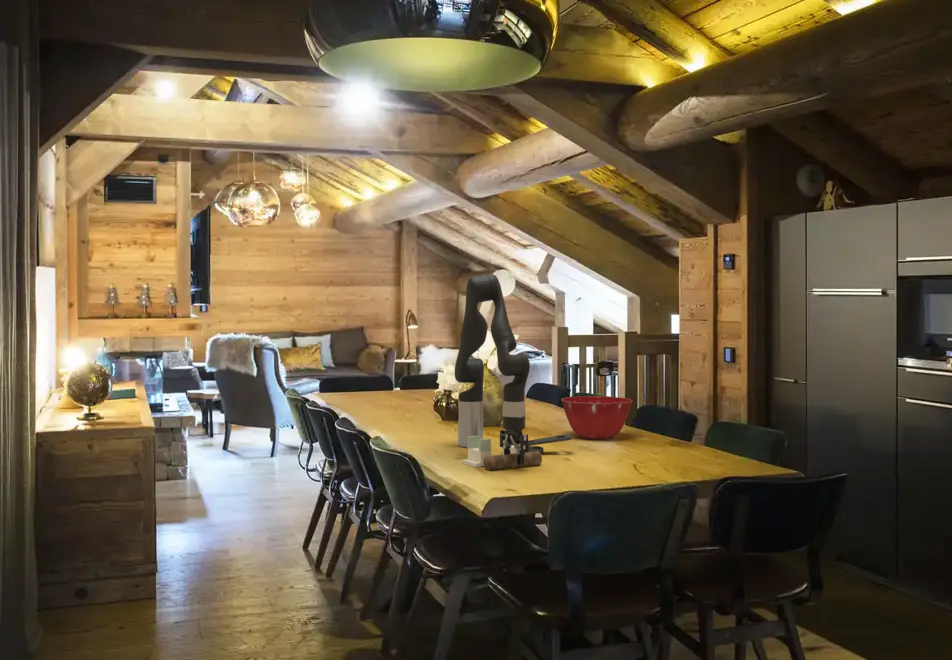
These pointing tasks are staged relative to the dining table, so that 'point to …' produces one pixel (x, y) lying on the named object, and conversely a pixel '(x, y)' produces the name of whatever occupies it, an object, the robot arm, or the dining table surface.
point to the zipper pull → (546, 440)
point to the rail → (511, 460)
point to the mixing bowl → (596, 415)
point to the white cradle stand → (480, 451)
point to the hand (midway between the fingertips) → (513, 463)
